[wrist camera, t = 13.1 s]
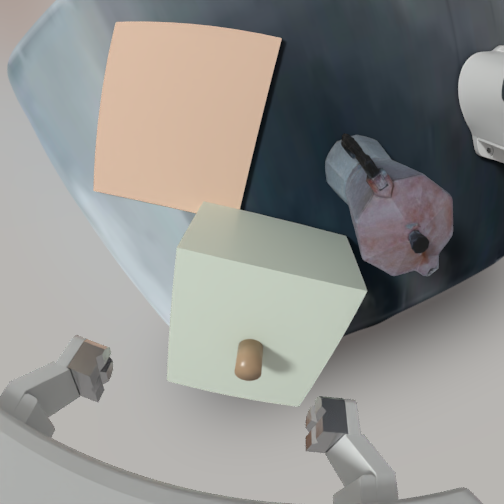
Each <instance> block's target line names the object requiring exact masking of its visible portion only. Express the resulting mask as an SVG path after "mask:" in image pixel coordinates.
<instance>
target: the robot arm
mask: <svg viewBox="0 0 504 504" xmlns="http://www.w3.org/2000/svg"><path fill="white" fill-rule="evenodd" d="M458 95H459V102H460V107H461V110H462V114H463V116H464V119H465V121H466V123H467V125H468V127H469V129H470V131H471V133H472V137H473V144H474V149H475V152H476V154H477V155H479V156H482V157H485V158H488V159H492V160H495V161H498V162H501V163H504V46H503V45H500V46H498V47H496V48H495V49H494V50H492V51H488V52H478V53H476V54H474V55H472V56H471V57H470V58H468V60H467V61H466V62H465V64H464V65H463V67H462V70H461V73H460V77H459V83H458ZM487 148H488V152H487ZM110 354H111V351H110V348H109V347H106V346H104V345H101V344H98V343H96V342H93V341H90V340H88V339H86V338H83V337H81V336H78V335H76V336H74V337H73V338H72V339H71V341H70V342H69V344H68V345H67V347H66V348H65V350H64V352H63V353H62V354H61V356H60V357H59V359H58V360H57V362H56V363H55V362H51V363H49V364H47V365H45V366H43V367H41V368H38V369H36V370H34V371H32V372H30V373H28V374H26V375H23V376H21V377H19V378H17V379H15V380H13V381H11V382H9V384H8V385H7V387H6V389H5V390H4V392H3V393H2V395H1V396H0V504H289V503H276V502H275V503H274V502H264V501H255V500H247V499H240V498H234V497H227V496H222V495H216V494H211V493H206V492H201V491H196V490H192V489H188V488H183V487H179V486H175V485H172V484H168V483H164V482H161V481H157V480H154V479H151V478H147V477H144V476H141V475H138V474H135V473H132V472H129V471H126V470H124V469H121V468H118V467H115V466H113V465H110V464H108V463H105V462H102V461H100V460H97V459H95V458H93V457H90V456H88V455H86V454H84V453H81V452H79V451H77V450H75V449H73V448H71V447H68V446H66V445H64V444H62V443H60V442H58V441H56V440H54V439H52V438H51V437H52V435H53V432H54V431H55V428H54V426H53V424H52V423H51V421H50V420H49V418H48V417H49V416H51V415H53V414H54V413H56V412H57V411H59V410H60V409H62V408H63V407H65V406H66V405H68V404H69V403H71V402H72V401H74V400H75V399H77V398H78V397H80V396H83V397H86V398H88V399H91V400H93V401H96V402H98V401H99V399H100V397H101V395H102V393H103V391H104V387H103V384H104V383H106V382H108V381H109V379H110V377H111V374H112V370H113V361H112V359H111V358H110V357H109V356H110ZM306 429H307V430H308V431H309V434H308V435H307V436H306V451H309V452H320V453H326V456H327V458H328V459H329V461H330V463H331V465H332V466H333V468H334V470H335V471H336V473H337V475H338V476H339V478H340V480H341V481H342V483H343V485H344V486H345V487H344V488H343V489H342V490H340V491H338V492H337V493H336V494H334V495H333V504H482V502H481V501H480V500H479V499H478V498H477V497H476V496H475V495H474V494H473V493H472V492H471V491H470V490H469V489H467V488H464V487H463V488H457V489H453V490H449V491H444V492H440V493H435V494H430V495H425V496H420V497H413V498H407V499H400V500H398V491H397V483H396V475H395V472H394V471H393V470H392V468H391V467H390V466H389V465H388V463H387V462H386V461H385V460H384V459H383V457H382V456H381V455H380V454H379V452H378V451H377V450H376V449H375V447H374V446H373V445H372V444H371V443H370V441H369V440H368V439H367V438H366V436H365V435H362V434H361V431H360V424H359V416H358V409H357V403H356V401H355V400H351V399H342V398H332V397H322V396H319V397H317V399H316V400H315V405H314V406H312V407H311V408H310V409H309V411H308V414H307V417H306Z"/></svg>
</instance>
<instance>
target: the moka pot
mask: <svg viewBox="0 0 504 504" xmlns="http://www.w3.org/2000/svg"><path fill="white" fill-rule="evenodd" d="M325 172H326V181H327V183H328V184H329V185H330V186H331V187H332V188H333V190H334V191H335V192H336V193H337V194H338V195H339V196H340V197H341V198H342V199H343V200H344V201H345V202H346V203H347V204H348V205H349V208H350V213H351V217H352V221H353V225H354V228H355V232H356V236H357V240H358V244H359V249H360V253H361V256H362V259H363V260H364V261H366V262H368V263H370V264H372V265H374V266H375V267H377V268H379V269H381V270H383V271H385V272H386V273H388V274H390V275H392V276H397V275H400V274H404V273H408V272H411V271H417V272H419V273H420V274H422V275H423V276H430V275H431V274H432V273H433V272H435V271H436V270H437V269H438V268H439V253H440V252H441V250H442V249H443V248H444V246H445V245H446V244H447V243H448V241H449V240H450V238H451V237H452V235H453V202H452V197H451V195H450V194H449V193H448V192H446V191H445V190H444V189H442V188H441V187H440V186H438V185H437V184H436V183H434V182H433V181H432V180H430V179H429V178H428V177H427V176H425V175H424V174H423V173H420V172H418V171H416V170H414V169H411V168H409V167H407V166H405V165H402V164H400V163H398V162H395V161H393V160H392V159H391V158H390V157H389V155H388V154H387V153H386V152H385V150H384V149H383V148H382V146H381V145H380V144H379V142H378V141H376V140H374V139H372V138H369V137H365V136H360V135H354V136H350V135H348V134H343V135H342V140H340V141H337V142H336V143H335V144H334V146H333V147H332V149H331V150H330V152H329V154H328V156H327V158H326V160H325Z"/></svg>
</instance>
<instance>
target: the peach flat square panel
mask: <svg viewBox="0 0 504 504" xmlns="http://www.w3.org/2000/svg"><path fill="white" fill-rule="evenodd" d="M281 40H282V38H278V37H273V36H269V35H264V34H259V33H253V32H248V31H242V30H236V29H229V28H222V27H215V26H206V25H196V24H185V23H169V22H116V24H115V28H114V32H113V36H112V41H111V45H110V50H109V55H108V60H107V65H106V71H105V77H104V83H103V89H102V96H101V103H100V111H99V119H98V128H97V139H96V151H95V166H94V191H96V192H101V193H106V194H111V195H116V196H120V197H125V198H130V199H134V200H139V201H144V202H148V203H153V204H157V205H162V206H166V207H171V208H175V209H180V210H184V211H188V212H193V213H197V212H198V210H199V208H200V207H201V205H202V203H203V202H204V201H205V202H209V203H214V204H218V205H222V206H227V207H231V208H236V209H240V207H241V203H242V198H243V194H244V190H245V185H246V181H247V177H248V173H249V169H250V164H251V160H252V156H253V152H254V148H255V143H256V139H257V135H258V131H259V127H260V123H261V119H262V115H263V111H264V107H265V103H266V99H267V95H268V91H269V87H270V83H271V79H272V75H273V71H274V67H275V63H276V60H277V56H278V52H279V48H280V44H281Z"/></svg>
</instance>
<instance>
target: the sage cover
mask: <svg viewBox="0 0 504 504" xmlns="http://www.w3.org/2000/svg"><path fill="white" fill-rule="evenodd" d="M366 293H367V289H366V286H365V283H364V280H363V278H362V275H361V272H360V270H359V267H358V264H357V262H356V259H355V257H354V254H353V252H352V249H351V247H350V244H349V242H348V239H347V237H346V236H344V235H340V234H336V233H333V232H329V231H325V230H321V229H317V228H313V227H309V226H305V225H302V224H298V223H294V222H290V221H286V220H282V219H277V218H273V217H269V216H265V215H261V214H257V213H253V212H248V211H244V210H240V209H236V208H231V207H227V206H222V205H218V204H214V203H209V202H205V201H204V202H203V203H202V205H201V207H200V208H199V210H198V212H197V213H196V215H195V217H194V218H193V220H192V222H191V224H190V225H189V227H188V229H187V231H186V232H185V234H184V236H183V238H182V239H181V241H180V243H179V245H178V246H177V251H176V260H175V270H174V280H173V291H172V303H171V315H170V330H169V346H168V366H167V381H170V382H174V383H177V384H182V385H185V386H189V387H194V388H198V389H202V390H206V391H211V392H215V393H220V394H225V395H230V396H235V397H240V398H245V399H251V400H257V401H262V402H269V403H275V404H283V405H289V406H298V407H299V405H300V404H301V402H302V401H303V399H304V398H305V396H306V395H307V393H308V392H309V390H310V389H311V387H312V386H313V384H314V383H315V381H316V380H317V378H318V376H319V375H320V373H321V372H322V370H323V368H324V367H325V365H326V364H327V362H328V360H329V359H330V357H331V355H332V354H333V352H334V350H335V349H336V347H337V345H338V344H339V342H340V340H341V338H342V337H343V335H344V333H345V332H346V330H347V328H348V326H349V324H350V323H351V321H352V319H353V317H354V315H355V314H356V312H357V310H358V308H359V306H360V304H361V302H362V301H363V299H364V297H365V295H366Z"/></svg>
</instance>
